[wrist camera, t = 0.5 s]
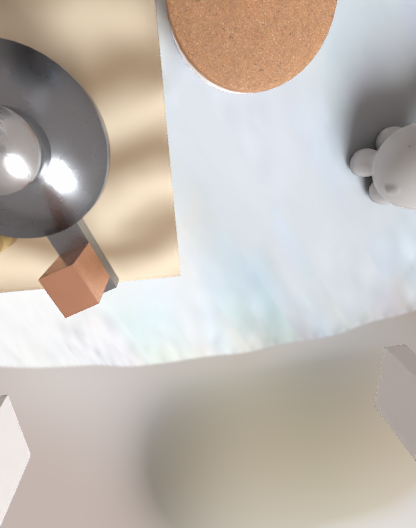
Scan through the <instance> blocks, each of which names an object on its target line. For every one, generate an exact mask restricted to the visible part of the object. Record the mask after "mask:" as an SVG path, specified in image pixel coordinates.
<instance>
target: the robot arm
mask: <svg viewBox="0 0 416 528" xmlns="http://www.w3.org/2000/svg"><path fill="white" fill-rule="evenodd" d="M375 408H376V409H377V411H378V412H379V413H380V415H382V417H383V418H384V420H385V421H386V422H387V424H388V425H389V426H390V428H391V429H392V430H393V432H394V433H395V434H396V436H397V437H398V438H399V440H400V441H401V442H402V443H403V445H404V446H405V448H406V449H407V450H408V451H409V453H410V454H411V455H412V457H413V458H414V459H415V461H416V354H415V353H414V352H413V351H412V350H411V349H410V348H409V347H408V346H406V345H405V344H403V345H396V346H389V347H384V354H383V359H382V365H381V371H380V377H379V382H378V388H377V394H376V401H375ZM30 456H31V455H30V452H29V449H28V447H27V444H26V442H25V439H24V436H23V433H22V431H21V428H20V426H19V423H18V421H17V418H16V415H15V412H14V410H13V407H12V405H11V402H10V399H9V397H8V395H3V396H0V526H1V523H2V521H3V518H4V517H5V514H6V512H7V510H8V507H9V505H10V502H11V500H12V498H13V496H14V493H15V491H16V489H17V486H18V484H19V482H20V479H21V477H22V474H23V472H24V470H25V468H26V465H27V463H28V461H29V458H30Z"/></svg>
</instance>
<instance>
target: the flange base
mask: <svg viewBox="0 0 416 528" xmlns="http://www.w3.org/2000/svg"><path fill="white" fill-rule="evenodd" d="M0 38H3V39H7V40H12V41H15V42H18V43H21V44H23V45H26V46H29V47H31V48H33V49H35V50H37V51H38V52H40V53H42V54H44V55H46V56H47V57H49V58H50V59H52V60H53V61H55V62H56V63H58V64H59V65H61V66H62V67H64V68H65V69H66V70H67V71H68V72H69V73H71V74H72V75H73V76H74V77H75V78H76V79H77V80H78V81H79V82H80V83H81V84H82V85H83V87H84V88H85V89H86V90H87V92H88V93H89V95H90V96H91V97H92V99H93V100H94V102H95V104H96V106H97V107H98V109H99V111H100V113H101V116H102V118H103V120H104V123H105V126H106V129H107V132H108V137H109V142H110V152H111V162H110V171H109V176H108V180H107V183H106V186H105V189H104V191H103V193H102V195H101V196H100V198H99V200H98V201H97V203H96V204H95V205H94V207H93V208H92V209H91V210H90V211H89V212H88V213H87V214H86V215H85V216H84V217H83V220H84V222H85V223H86V225H87V227H88V228H89V230H90V232H91V233H92V235H93V237H94V238H95V240H96V242H97V243H98V245H99V247H100V248H101V250H102V252H103V253H104V255H105V257H106V258H107V260H108V262H109V263H110V265H111V267H112V268H113V270H114V271H115V273H116V275H117V276H118V278H119V281H118V282H122V281H133V280H143V279H154V278H165V277H176V276H180V267H179V256H178V245H177V234H176V223H175V212H174V201H173V190H172V179H171V168H170V157H169V146H168V135H167V124H166V114H165V103H164V92H163V81H162V70H161V59H160V48H159V37H158V26H157V15H156V4H155V0H0ZM58 257H59V254H58V253H57V251H56V250H55V248H54V247H53V245H52V244H51V242H50V241H49V239H48V238H47V236H45V237H40V238H30V239H28V238H12V237H5V236H1V235H0V293H2V292H13V291H24V290H35V289H44V288H43V286H42V285H41V283H40V282H39V281H38V279H39V278H40V277H41V276H42V275H43V274H44V273H45V271H46V270H47V269H48V268H49V267H50V266H51V265H52V264H53V262H54V261H55V260H56V259H57V258H58Z"/></svg>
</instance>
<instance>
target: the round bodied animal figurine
mask: <svg viewBox="0 0 416 528" xmlns="http://www.w3.org/2000/svg"><path fill="white" fill-rule="evenodd" d="M376 148H377V150H378V151H377V150H374V149H370V148H364V149H360V150H358V151H356V152H355V153H354V155H353V156H352V158H351V161H350V169H351V171H352V172H353V173H354V174H355V175H357V176H361V177H368V176H372V178H373V182H372V184H371V185H370V188H369V197H370V199H371V200H372V201H373V202H375V203H377V204H393V205H395V206H398V207H401V208H405V209H416V123H412V124H409V125H407V126H405V127H403V128H402V127H398V126H391V127H387V128H385V129H383V130H382V131H381V132H380V133H379V135H378V137H377V140H376Z"/></svg>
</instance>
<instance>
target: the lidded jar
mask: <svg viewBox="0 0 416 528" xmlns="http://www.w3.org/2000/svg"><path fill="white" fill-rule="evenodd" d="M165 2H166V8H167V13H168V19H169V22H170V27H171V31H172V34H173V37H174V41H175V43H176V45H177V47H178V50H179V52H180V54H181V56H182V57H183V59H184V60H185V62H186V63H187V65H188V67H189V68H190V69H191V70H192V71H193V72H194V73H195V74H196V75H197V76H198V77H199V78H200V79H201V80H203V81H204V82H205V83H207V84H209V85H210V86H212V87H214V88H216V89H219V90H222V91H224V92H230V93H235V94H248V93H256V92H261V91H267V90H269V89H272V88H275V87H277V86H280V85H282V84H284V83H285V82H287V81H289V80H291V79H292V78H293V77H295V76H296V75H297V74H298V73H300V72H301V71H302V70H303V69H304V68H305V67H306V66H307V65H308V64H309V63H310V62H311V60H312V59H313V58H314V56H315V55H316V53H317V52H318V51H319V49H320V48H321V46H322V44H323V42H324V40H325V38H326V36H327V34H328V31H329V29H330V26H331V23H332V20H333V17H334V13H335V8H336V4H337V0H165Z"/></svg>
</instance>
